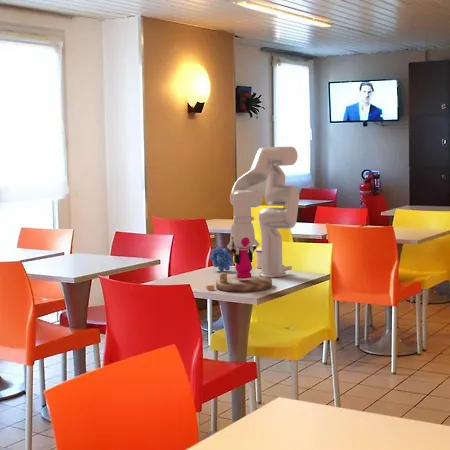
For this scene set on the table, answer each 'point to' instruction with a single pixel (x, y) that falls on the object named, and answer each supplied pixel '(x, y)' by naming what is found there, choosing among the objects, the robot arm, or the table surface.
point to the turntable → (243, 283)
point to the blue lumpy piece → (221, 258)
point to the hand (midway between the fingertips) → (243, 262)
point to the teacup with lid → (259, 257)
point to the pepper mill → (244, 261)
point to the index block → (209, 287)
